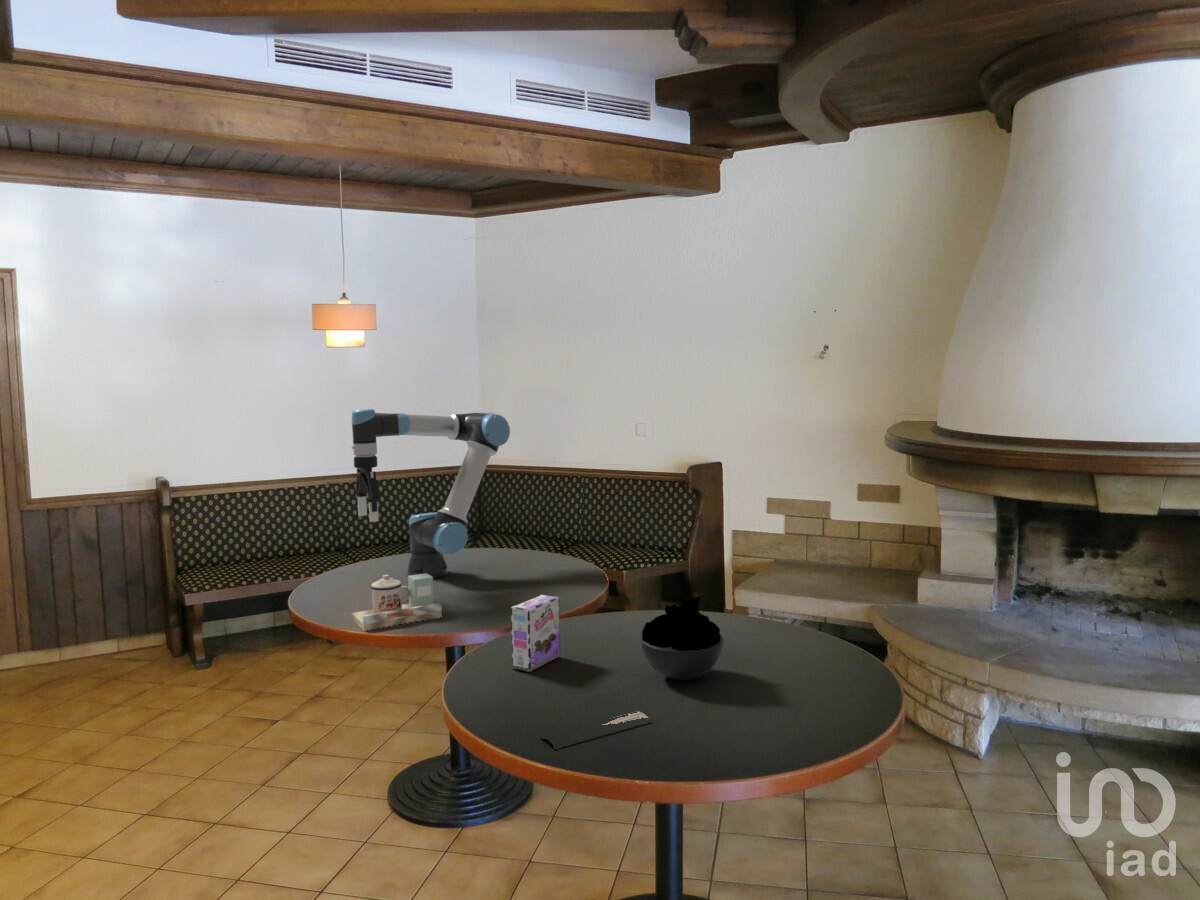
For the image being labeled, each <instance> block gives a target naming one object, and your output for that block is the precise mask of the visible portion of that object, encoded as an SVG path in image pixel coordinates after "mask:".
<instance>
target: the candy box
mask: <svg viewBox="0 0 1200 900" xmlns="http://www.w3.org/2000/svg"><path fill="white" fill-rule="evenodd" d="M510 621H511V622H510V624H511V625H510V626H511V628H510V630H511V666H512V665H514V666H519V667H523V668H529V669H530V668H532V667H534V666H536V665H538V664H539V663H541V662H544V661H546V660H547V659H549V658H551V657H553V656H555V655H557V654H559V653H560V654H561V629H560V623H561V622H560V597H559V596H552V595H546V594H540V595H538V596H537V597H534V598H531V599H528V600H526V601H523V602H520V603H519V604H516V605H513V606H511V607H510Z"/></svg>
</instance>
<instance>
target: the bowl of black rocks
mask: <svg viewBox="0 0 1200 900" xmlns="http://www.w3.org/2000/svg"><path fill="white" fill-rule="evenodd" d="M700 602H701V597H700V596H696V597H693V598H691V599H689V600H688V601H685V602H683V604H682V605H678V606H677V605H676V604H672V605H671V606H670V605H665V608H664V614H661V615H658V616H656V617H655V618H653V619H652V620H650V621H649V622H646V623H645V624H644V626H643V629H642V630H641V631H642V632H641V633H642V634H641V636H640V643H641V649H642V651H643V654H644V655H643V656H644V657H645V658H646V661H648V663H649V665H651V667H652V668H653V669H654V670H655V671H657V672H658V673H659V674H661V675H662V676H664V677H666V678H669V679H672V680H676V681H690V680H694V679H697V678H699V677H702V676H703V675H705V674H706V673H708V672H709V671H710V670H711V669H712V668H713V667H714V666H715V664H717V662H718V660H719V658H720V656H721V653H722V650H723V646H724V636H723V635H722V634H721V629H720V626H718V625H717V624H716V623H715V622H713V621H711V620H710V618H709V616H707V615H704V614H702V613H701V612H700V610H699V609H700V608H699V603H700Z"/></svg>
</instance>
